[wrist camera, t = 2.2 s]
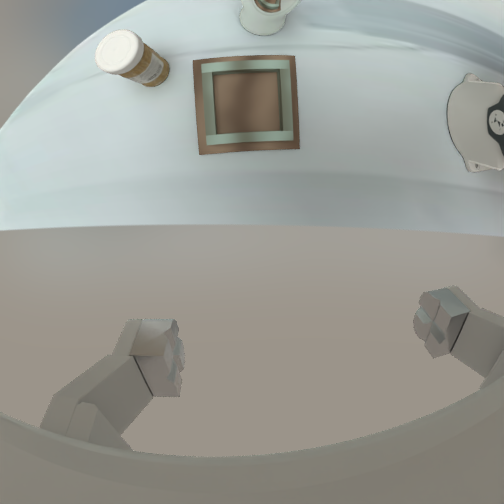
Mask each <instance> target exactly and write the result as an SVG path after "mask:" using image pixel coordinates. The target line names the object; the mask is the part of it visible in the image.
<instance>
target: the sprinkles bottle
mask: <svg viewBox="0 0 504 504" xmlns="http://www.w3.org/2000/svg"><path fill="white" fill-rule="evenodd" d="M95 61H96V64H97V66H98V67H99V68H100V69H101V70H103V71H105V72H107V73H110V74H115V75H117V74H118V75H120V76H122V77H125V78H128V79H130V80H133V81H135V82H138V83H141V84H143V85H144V86H147V87H153V86H157V85H159V84H161V83H162V82H163V81H164V80H165V79H166V78H167V76H168V74H169V64H168V62H167V61H166V60H165V59H163V58H162V57H161V56H160V55H159V54H158V53H157V52H155V51H154V50H153V49H151V48H150V47H149V46H147V45H146V44H145V43H143V41H142V39H141V38H140V37H139V36H138V35H136V34H135V33H134V32H132V31H130V30H125V29H122V30H116V31H114V32H111V33H110V34H108V35H107V36H106V37H104V38H103V39H102V41H101V42H100V43H99V45H98V47H97V49H96V52H95Z"/></svg>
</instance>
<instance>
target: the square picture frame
mask: <svg viewBox="0 0 504 504" xmlns="http://www.w3.org/2000/svg"><path fill="white" fill-rule="evenodd" d="M193 75H194V92H195V107H196V121H197V134H198V145H199V155H204V154H214V153H226V152H239V151H254V150H276V149H300V146H299V117H298V96H297V79H296V64H295V56H286V55H255V56H233V57H220V58H210V59H201V60H193Z"/></svg>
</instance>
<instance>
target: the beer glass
mask: <svg viewBox="0 0 504 504" xmlns="http://www.w3.org/2000/svg"><path fill="white" fill-rule="evenodd" d="M301 1H302V0H241V3H242V5H243V8H242V9H241V11H240V15H239V19H240V23H241V24H242V26H243V27H244V28H245V29H246V30H247V31H249V32H250V33H253V34H256V35H261V36H266V35H271V34H274V33H276V32H278V31H279V30H280V29H281V28H282V27H283V26H284V23H285V16H286V15H287V14H288V13H290V12H291V11H292V10H293V9H295V8H296V7H297V6H298V5H299V4H300V3H301Z"/></svg>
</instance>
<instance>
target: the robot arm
mask: <svg viewBox="0 0 504 504" xmlns="http://www.w3.org/2000/svg"><path fill="white" fill-rule="evenodd" d="M447 116H448V126H449V131H450V134H451V137H452V140H453V142H454V144H455V146H456V148H457V149H458V151H459V152H460V153H461V155H462V156H463V158H464V161H465V164H466V167H467V169H468V171H469V172H479V171H484V170H490V169H496V170H500V171H501V170H502V169H504V87H503V86H502V85H501V84H500V83H493V82H483V81H482V80H481V79H479V78H478V77H477V76H475V75H474V74H470V73H468V74H467V75H466V76H465V79H464V81H463V83H461V84H460V85H458V86H457V87H456V88H455V89H454V90H453V92H452V93H451V96H450V98H449V102H448V111H447ZM419 304H420V308H419V309H418V310H417V312H416V313H415V316H414V320H413V323H414V330H415V333H416V334H417V336H418V337H419V338H420V339H422V340H424V341H425V347H426V349H427V350H428V351H429V353H430V354H431V356H432V357H433V358H436V357H439V356H443V355H446V354H449V353H450V354H451V355H452V356H454V357H455V358H457V359H458V360H460V361H461V362H463V363H464V364H465V365H467V366H468V367H470V368H471V369H473V370H474V371H476V372H477V373H479V374H480V375H482V376H483V377H484V378H485V380H484V381H483V383H482V384H481V386H480V390H479V391H477V392H475V393H473V394H471V395H469V396H467V397H465V398H464V399H462V400H460V401H458V402H456V403H453V404H451V405H449V406H447V407H445V408H443V409H440V410H438V411H436V412H433V413H432V414H429V415H426V416H424V417H421V418H419V419H416V420H414V421H411V422H408V423H405V424H403V425H400V426H397V427H394V428H392V429H388V430H385V431H382V432H378V433H375V434H372V435H368V436H365V437H361V438H357V439H353V440H349V441H345V442H341V443H336V444H332V445H327V446H322V447H316V448H311V449H305V450H298V451H291V452H284V453H275V454H265V455H252V456H232V457H196V456H176V455H163V454H153V453H145V452H137V451H133V450H132V449H131V447H130V446H129V445H128V444H127V442H126V441H125V440H124V439H123V438H122V437H121V436H120V435H121V434H122V433H123V432H124V431H125V430H126V429H127V427H128V426H129V425H130V424H131V423H132V422H133V421H134V419H135V418H136V417H137V416H138V415H139V414H140V413H141V411H142V410H143V409H144V408H145V407H146V406H147V404H148V403H149V402H150V401H151V400H152V399H153V396H157V397H180V390H181V384H182V379H181V376H180V372H181V371H182V370H183V369H184V363H185V353H184V347H183V343H182V340H181V339H180V338H178V337H177V336H178V331H179V328H178V325H177V322H176V320H174V319H144V320H142V319H130V320H128V321H127V322H126V324H125V326H124V328H123V330H122V332H121V335H120V337H119V339H118V342H117V344H116V346H115V349H114V351H113V353H112V355H107V356H105V357H104V358H103V359H101V360H100V361H99V362H97V363H96V364H94V365H93V366H92V367H91V368H89V369H88V370H86V371H85V372H84V373H82V374H81V375H80V376H78V377H77V378H76V379H74V380H73V381H71V382H70V383H69V384H67V385H66V386H65V387H63V388H62V389H61V390H60V391H58V392H57V393H56V394H54V395H53V397H52V400H51V402H50V404H49V406H48V409H47V411H46V413H45V416H44V418H43V420H42V423H41V425H40V428H38V427H35V426H33V425H30V424H28V423H25V422H23V421H20V420H18V419H15V418H13V417H11V416H8V415H6V414H4V413H2V412H0V504H504V317H503V316H500V315H498V314H496V313H493V312H491V311H488V310H486V309H484V308H481V309H480V308H479V307H478V306H477V305H476V304H475V303H474V302H473V301H472V300H471V299H470V298H469V297H468V296H467V295H466V294H465V293H464V292H463V291H462V290H461V289H460V288H458V287H457V286H449V287H446V288H443V289H438V290H434V291H428V292H424V293H423V294H422V295H421V297H420V300H419Z"/></svg>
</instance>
